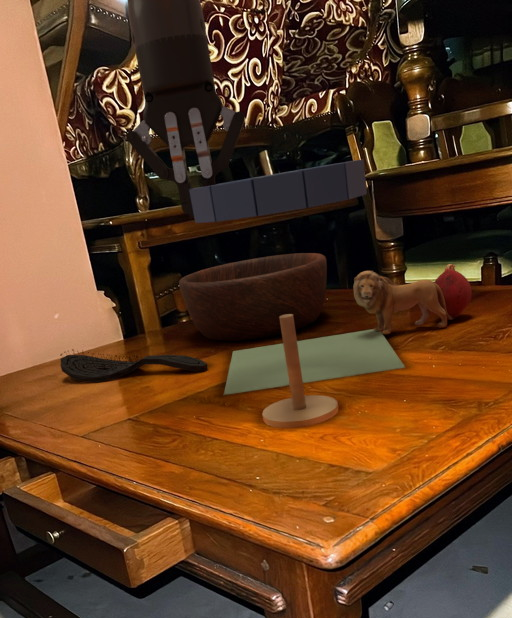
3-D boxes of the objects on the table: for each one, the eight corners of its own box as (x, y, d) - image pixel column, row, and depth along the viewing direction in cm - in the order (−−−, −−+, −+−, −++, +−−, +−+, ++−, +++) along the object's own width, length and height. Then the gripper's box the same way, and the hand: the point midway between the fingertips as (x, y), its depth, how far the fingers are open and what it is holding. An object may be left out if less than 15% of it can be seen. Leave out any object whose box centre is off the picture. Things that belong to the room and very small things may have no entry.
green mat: (379, 332, 103) (378, 328, 103) (405, 371, 82) (405, 367, 82) (233, 354, 105) (232, 351, 104) (224, 399, 84) (223, 394, 84)
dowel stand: (335, 401, 77) (323, 302, 73) (342, 425, 69) (329, 317, 65) (264, 411, 77) (248, 314, 73) (263, 437, 70) (245, 330, 66)
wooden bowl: (162, 341, 122) (149, 283, 118) (267, 307, 136) (259, 254, 132) (252, 352, 104) (241, 283, 100) (363, 312, 118) (357, 250, 114)
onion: (467, 323, 99) (464, 266, 96) (427, 325, 102) (423, 270, 99) (476, 313, 104) (474, 259, 101) (438, 315, 107) (435, 262, 104)
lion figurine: (362, 340, 97) (358, 275, 93) (350, 333, 101) (346, 270, 98) (460, 325, 99) (461, 261, 95) (444, 319, 103) (444, 257, 100)
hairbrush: (189, 359, 94) (45, 358, 104) (193, 385, 95) (51, 381, 106) (217, 343, 101) (79, 343, 111) (220, 367, 102) (84, 366, 113)
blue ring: (353, 191, 85) (350, 161, 84) (377, 196, 68) (374, 157, 67) (203, 216, 86) (197, 187, 85) (189, 227, 69) (182, 190, 68)
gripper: (236, 34, 74) (262, 204, 81) (112, 58, 75) (147, 224, 81) (234, 20, 67) (262, 207, 74) (97, 46, 68) (137, 229, 74)
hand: (201, 215), depth 77 cm, fingers closed on blue ring, 1 cm apart
